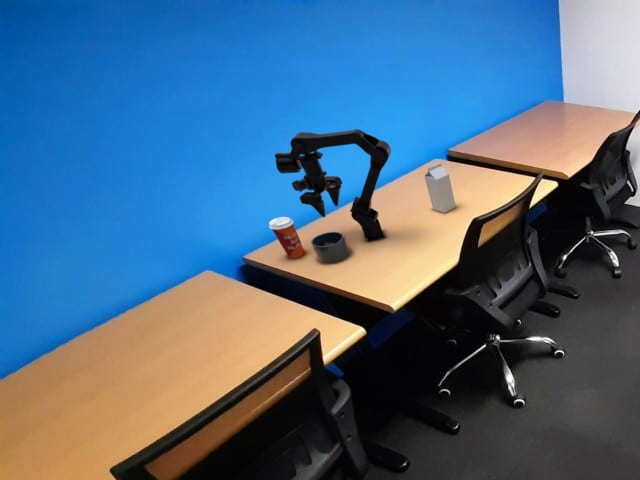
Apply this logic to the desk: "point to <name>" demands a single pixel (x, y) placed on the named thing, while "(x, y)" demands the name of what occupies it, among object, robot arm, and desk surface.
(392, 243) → the desk surface
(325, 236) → the dark grey round bowl
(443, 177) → the milk carton
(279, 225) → the paper cup
